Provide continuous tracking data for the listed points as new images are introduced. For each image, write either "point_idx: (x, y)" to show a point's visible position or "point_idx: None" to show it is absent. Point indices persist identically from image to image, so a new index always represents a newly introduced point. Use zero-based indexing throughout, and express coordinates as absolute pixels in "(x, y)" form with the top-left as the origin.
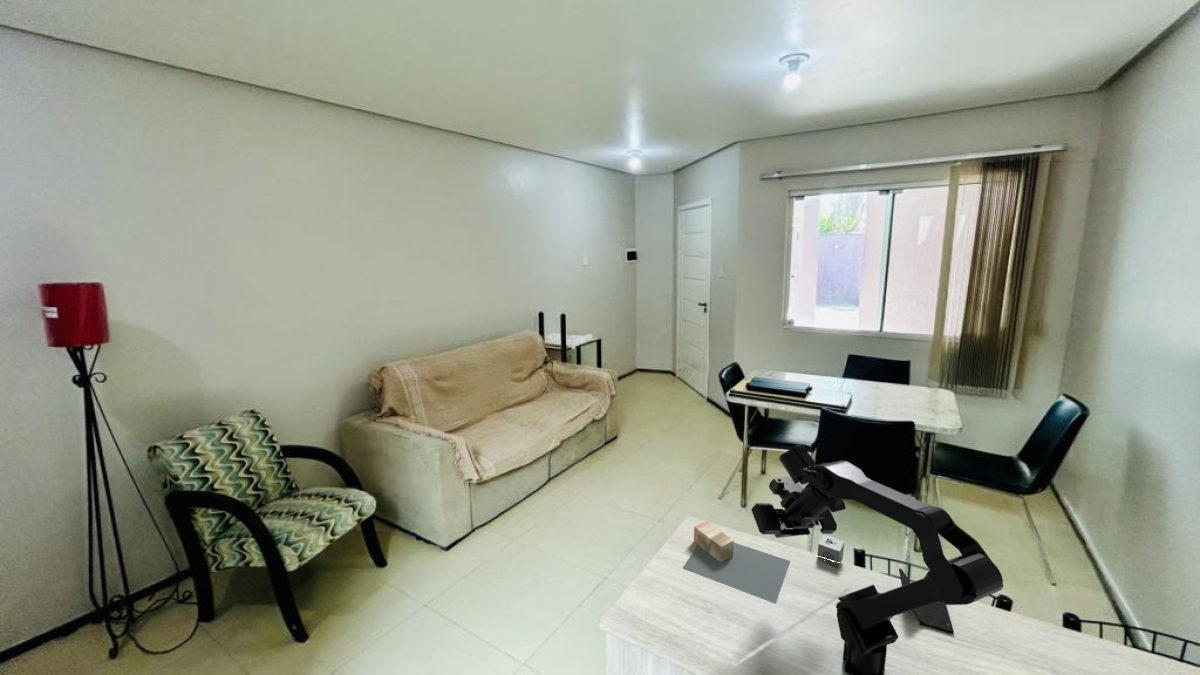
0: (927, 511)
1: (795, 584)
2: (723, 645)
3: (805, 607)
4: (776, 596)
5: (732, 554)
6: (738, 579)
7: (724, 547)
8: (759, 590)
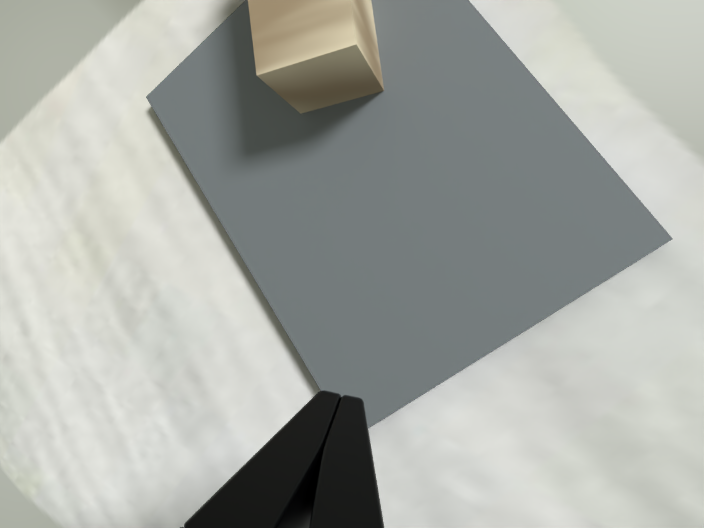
0: None
1: (556, 379)
2: (90, 464)
3: (477, 513)
4: (383, 410)
5: (375, 88)
6: (301, 244)
7: (291, 75)
8: (339, 343)
